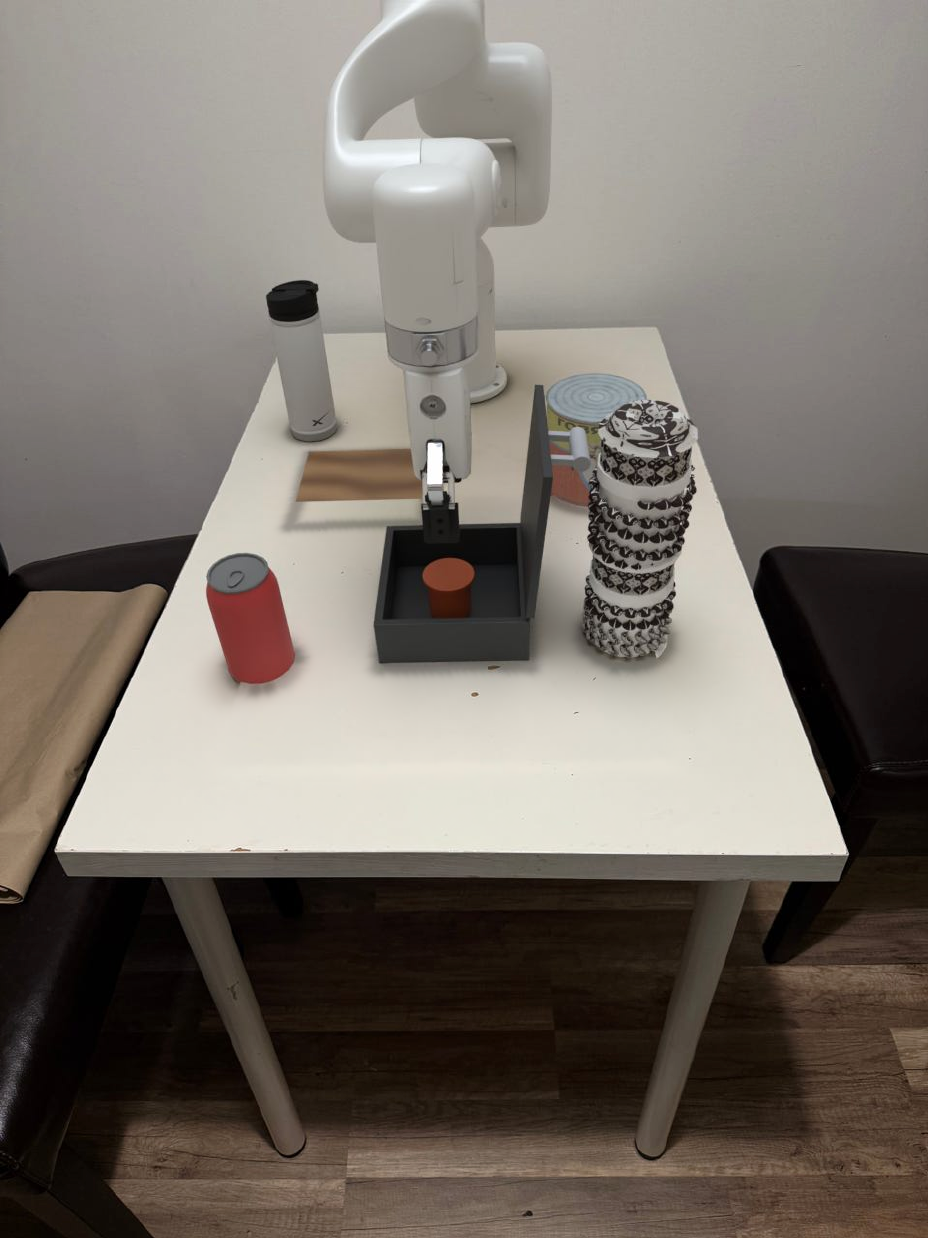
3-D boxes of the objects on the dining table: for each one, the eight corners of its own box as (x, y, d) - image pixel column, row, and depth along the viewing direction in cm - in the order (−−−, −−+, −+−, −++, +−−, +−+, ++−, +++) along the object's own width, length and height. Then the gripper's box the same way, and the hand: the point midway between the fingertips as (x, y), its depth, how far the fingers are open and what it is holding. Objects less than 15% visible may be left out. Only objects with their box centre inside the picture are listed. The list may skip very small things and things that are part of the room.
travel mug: (331, 444, 119) (308, 296, 105) (284, 440, 120) (255, 294, 106) (345, 420, 123) (324, 275, 110) (300, 417, 124) (274, 273, 111)
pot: (426, 592, 94) (423, 558, 91) (476, 591, 94) (474, 557, 91) (424, 625, 90) (421, 591, 87) (475, 624, 90) (474, 590, 87)
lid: (543, 476, 72) (600, 479, 72) (534, 384, 84) (583, 386, 84) (525, 618, 82) (575, 620, 82) (520, 518, 94) (563, 520, 94)
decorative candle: (680, 618, 91) (717, 395, 74) (659, 680, 85) (695, 452, 68) (593, 598, 94) (610, 379, 77) (567, 656, 87) (579, 432, 70)
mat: (309, 454, 117) (308, 451, 117) (430, 450, 116) (430, 447, 116) (289, 526, 105) (289, 523, 105) (425, 523, 105) (424, 520, 104)
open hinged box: (379, 668, 87) (373, 625, 83) (391, 568, 99) (386, 525, 95) (529, 666, 87) (529, 622, 83) (523, 565, 98) (524, 522, 94)
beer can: (219, 686, 86) (189, 592, 78) (241, 639, 91) (214, 546, 83) (285, 691, 85) (261, 597, 77) (303, 644, 90) (283, 550, 82)
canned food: (558, 518, 104) (561, 427, 96) (534, 467, 112) (535, 380, 104) (650, 504, 106) (661, 413, 98) (619, 454, 114) (627, 367, 106)
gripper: (478, 384, 66) (484, 566, 77) (479, 292, 78) (483, 460, 90) (376, 387, 66) (397, 568, 77) (394, 294, 79) (409, 462, 90)
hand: (444, 510), depth 84 cm, fingers open, 9 cm apart
